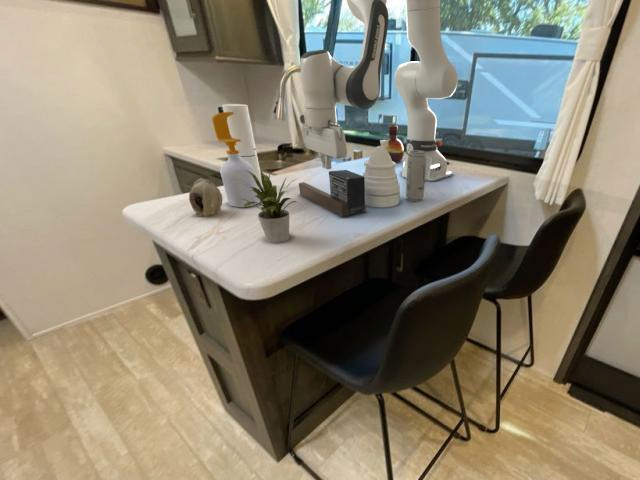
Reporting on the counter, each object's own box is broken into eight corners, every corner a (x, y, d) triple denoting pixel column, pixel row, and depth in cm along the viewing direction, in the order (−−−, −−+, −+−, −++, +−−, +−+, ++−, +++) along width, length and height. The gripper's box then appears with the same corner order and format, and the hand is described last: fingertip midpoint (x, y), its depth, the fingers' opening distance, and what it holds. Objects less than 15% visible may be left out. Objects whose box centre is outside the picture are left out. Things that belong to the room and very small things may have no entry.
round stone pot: (201, 218, 95) (185, 183, 91) (231, 211, 96) (217, 176, 93) (192, 220, 86) (175, 181, 83) (226, 212, 88) (210, 173, 84)
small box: (366, 212, 98) (366, 176, 92) (348, 216, 94) (346, 179, 88) (348, 202, 104) (346, 168, 98) (330, 206, 101) (327, 171, 95)
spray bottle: (241, 209, 95) (218, 114, 81) (222, 203, 99) (197, 111, 85) (266, 202, 102) (249, 112, 88) (247, 196, 105) (228, 109, 91)
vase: (405, 159, 163) (407, 125, 155) (401, 164, 154) (402, 127, 146) (384, 157, 165) (384, 123, 156) (378, 162, 156) (378, 126, 147)
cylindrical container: (266, 185, 117) (251, 104, 103) (257, 191, 111) (240, 106, 97) (247, 184, 117) (229, 103, 103) (237, 189, 111) (217, 105, 97)
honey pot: (377, 192, 114) (376, 136, 104) (407, 200, 109) (410, 141, 98) (352, 201, 106) (349, 140, 95) (383, 210, 100) (384, 146, 90)
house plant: (229, 240, 78) (209, 168, 69) (275, 223, 88) (263, 158, 78) (269, 255, 72) (253, 180, 63) (314, 235, 82) (306, 167, 73)
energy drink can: (422, 202, 107) (425, 153, 99) (404, 200, 108) (406, 152, 100) (424, 197, 112) (428, 150, 104) (407, 195, 113) (409, 149, 105)
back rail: (305, 194, 110) (304, 182, 108) (348, 216, 94) (347, 202, 92) (300, 195, 109) (298, 183, 107) (342, 217, 93) (341, 203, 91)
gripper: (350, 122, 91) (353, 173, 99) (314, 115, 103) (319, 161, 111) (331, 124, 87) (335, 176, 95) (296, 116, 100) (302, 163, 108)
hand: (326, 168), depth 103 cm, fingers closed
